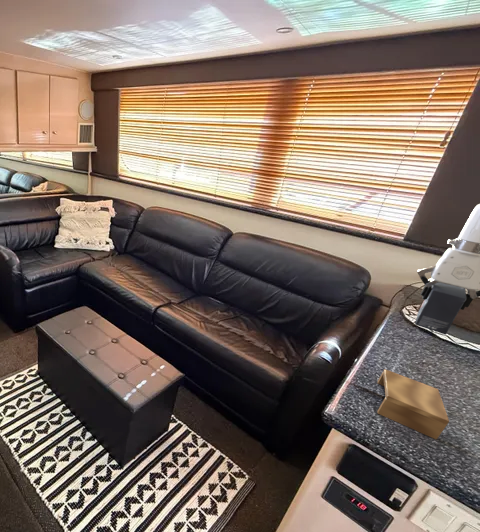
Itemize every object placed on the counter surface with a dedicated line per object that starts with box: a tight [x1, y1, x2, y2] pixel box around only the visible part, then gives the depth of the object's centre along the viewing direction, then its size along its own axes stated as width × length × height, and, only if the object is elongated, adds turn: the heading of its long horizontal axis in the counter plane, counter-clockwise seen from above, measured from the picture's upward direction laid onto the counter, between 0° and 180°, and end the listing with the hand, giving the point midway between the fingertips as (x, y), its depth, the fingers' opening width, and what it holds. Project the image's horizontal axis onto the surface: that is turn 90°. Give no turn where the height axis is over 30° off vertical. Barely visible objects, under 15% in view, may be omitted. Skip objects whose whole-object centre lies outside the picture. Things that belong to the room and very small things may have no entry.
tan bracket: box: [377, 368, 450, 440], centre depth 84 cm, size 11×15×6 cm
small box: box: [414, 282, 467, 335], centre depth 97 cm, size 13×7×12 cm, turn 132°
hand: (441, 302), depth 96 cm, fingers closed on small box, 7 cm apart
